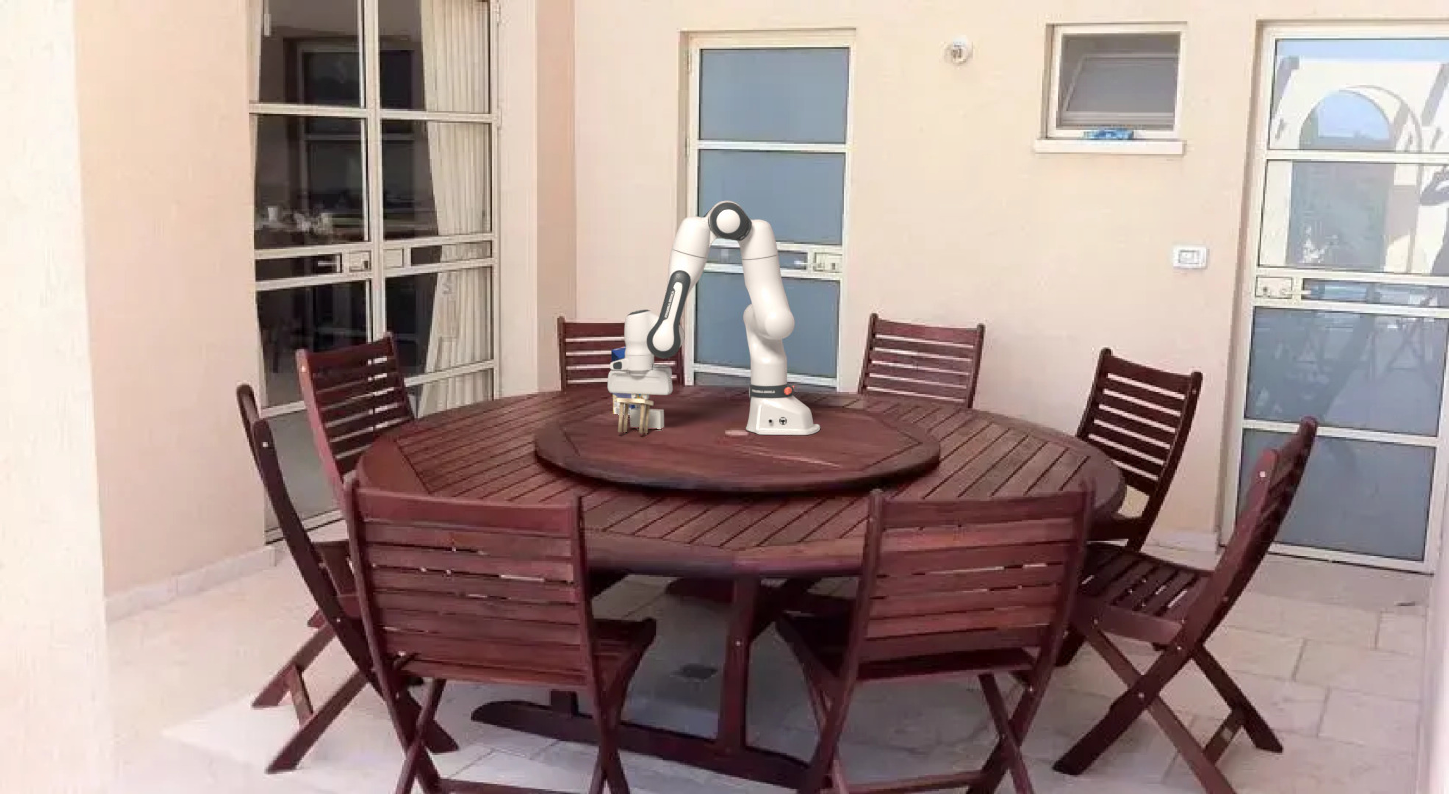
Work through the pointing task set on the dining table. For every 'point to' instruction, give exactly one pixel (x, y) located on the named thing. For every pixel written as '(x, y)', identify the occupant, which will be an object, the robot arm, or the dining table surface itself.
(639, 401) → the stool
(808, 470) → the dining table surface
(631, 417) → the stone block
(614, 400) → the beverage box
